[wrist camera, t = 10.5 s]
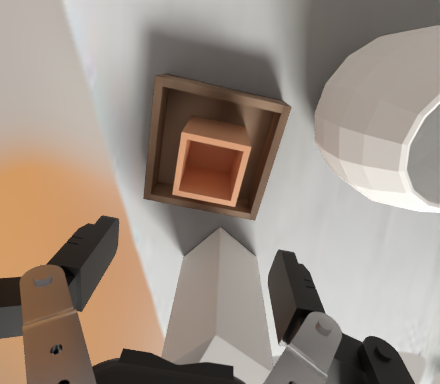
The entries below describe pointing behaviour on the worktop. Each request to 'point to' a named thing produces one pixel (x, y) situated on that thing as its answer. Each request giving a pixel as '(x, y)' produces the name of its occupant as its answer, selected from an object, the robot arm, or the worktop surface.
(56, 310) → the robot arm
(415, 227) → the worktop surface
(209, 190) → the terracotta crate
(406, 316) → the worktop surface
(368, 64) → the white round vase
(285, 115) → the walnut crate
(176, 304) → the milk carton
